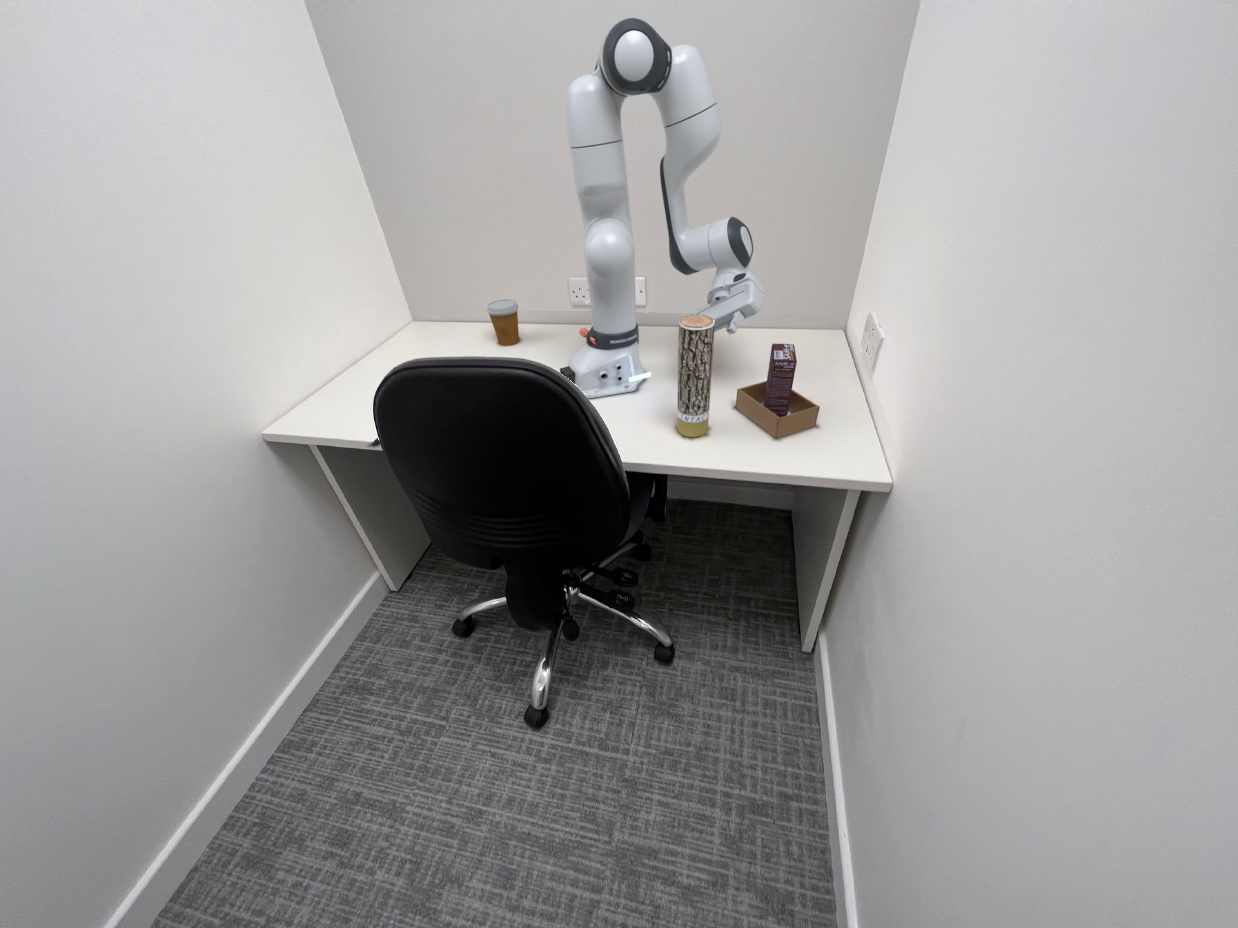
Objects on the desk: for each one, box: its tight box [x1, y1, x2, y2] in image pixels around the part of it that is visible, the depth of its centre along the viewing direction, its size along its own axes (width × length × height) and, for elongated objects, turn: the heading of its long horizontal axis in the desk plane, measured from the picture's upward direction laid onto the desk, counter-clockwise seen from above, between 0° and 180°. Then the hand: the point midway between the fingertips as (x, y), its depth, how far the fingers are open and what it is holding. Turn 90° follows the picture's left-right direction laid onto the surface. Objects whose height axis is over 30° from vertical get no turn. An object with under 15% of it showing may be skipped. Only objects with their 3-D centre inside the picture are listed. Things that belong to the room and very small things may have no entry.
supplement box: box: [762, 343, 798, 417], centre depth 108 cm, size 9×5×16 cm, turn 168°
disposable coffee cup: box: [486, 298, 520, 346], centre depth 153 cm, size 10×10×12 cm
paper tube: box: [676, 314, 715, 438], centre depth 102 cm, size 7×7×25 cm
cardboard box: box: [735, 380, 820, 440], centre depth 111 cm, size 10×15×5 cm
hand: (713, 339), depth 110 cm, fingers open, 8 cm apart
